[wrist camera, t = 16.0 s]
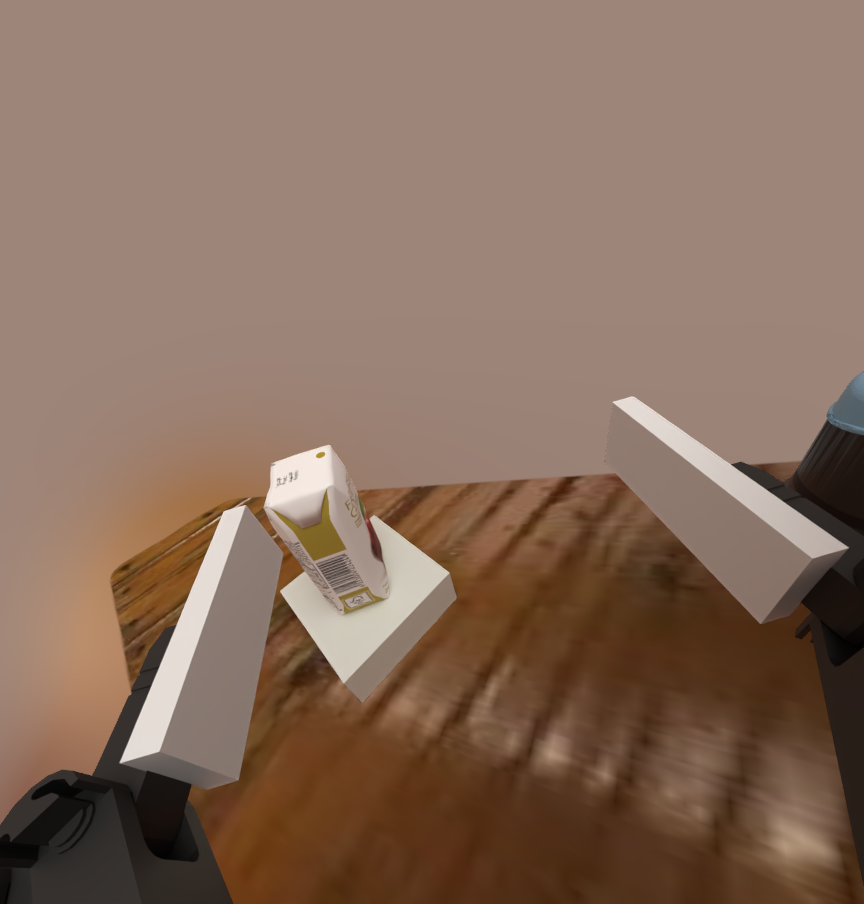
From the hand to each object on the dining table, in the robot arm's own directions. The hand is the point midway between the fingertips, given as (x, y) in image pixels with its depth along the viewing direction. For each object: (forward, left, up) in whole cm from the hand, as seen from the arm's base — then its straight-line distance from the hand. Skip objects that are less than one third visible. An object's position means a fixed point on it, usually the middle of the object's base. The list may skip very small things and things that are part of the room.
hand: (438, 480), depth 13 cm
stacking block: (0, -22, -35) cm, 42 cm away
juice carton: (0, -22, -30) cm, 37 cm away
